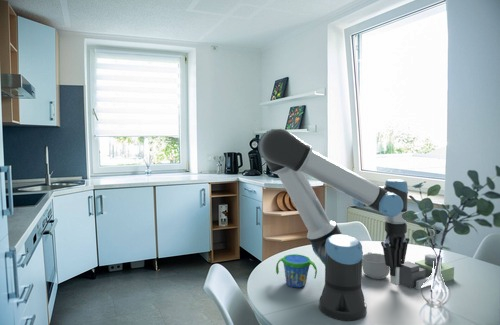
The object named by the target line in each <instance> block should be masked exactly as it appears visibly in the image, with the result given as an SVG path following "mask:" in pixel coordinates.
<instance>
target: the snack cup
mask: <svg viewBox="0 0 500 325" xmlns="http://www.w3.org/2000/svg"><path fill="white" fill-rule="evenodd" d="M280 262H282V263H283V269H284V276H285V282H286V284H287V286H288V287H290V288H299V289H301V288H302V287H304V286H306V284H307V279H308V273H309V269H310V265H311V266H312V267H313V269H314V270H315V271H314V272H315V274H314V277H313V278H314V279H316V277H317V274H318V269H317V265H316V264H315V262H313V261H312V260H311V259H310V258H309V257H308V256H306V255H304V254H297V253H296V254H287V255H284V256H283V257H281V258H280V259H279V260H278V261H277V262H276V265H275V272H276V275H278V274H279V273H280V272H279V263H280Z"/></svg>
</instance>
